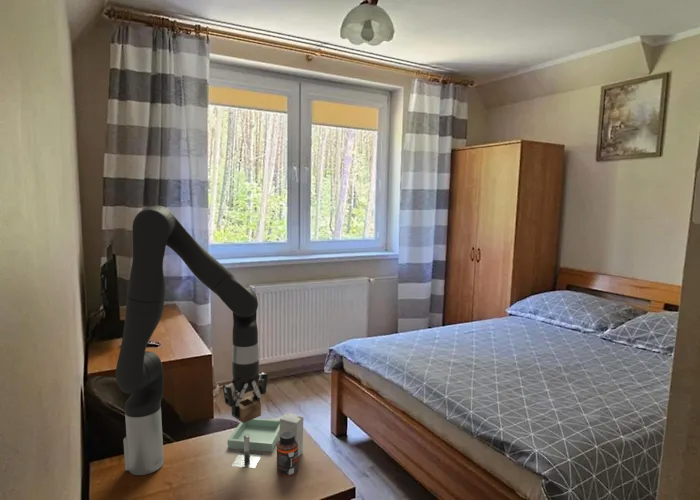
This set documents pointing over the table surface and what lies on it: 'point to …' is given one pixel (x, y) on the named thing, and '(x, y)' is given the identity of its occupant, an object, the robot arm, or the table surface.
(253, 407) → the ring
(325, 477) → the table surface
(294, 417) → the skincare box
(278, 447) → the supplement bottle
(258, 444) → the tray
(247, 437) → the plate with metal peg
